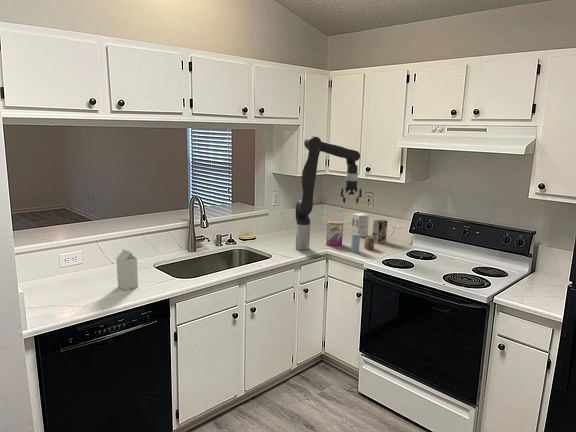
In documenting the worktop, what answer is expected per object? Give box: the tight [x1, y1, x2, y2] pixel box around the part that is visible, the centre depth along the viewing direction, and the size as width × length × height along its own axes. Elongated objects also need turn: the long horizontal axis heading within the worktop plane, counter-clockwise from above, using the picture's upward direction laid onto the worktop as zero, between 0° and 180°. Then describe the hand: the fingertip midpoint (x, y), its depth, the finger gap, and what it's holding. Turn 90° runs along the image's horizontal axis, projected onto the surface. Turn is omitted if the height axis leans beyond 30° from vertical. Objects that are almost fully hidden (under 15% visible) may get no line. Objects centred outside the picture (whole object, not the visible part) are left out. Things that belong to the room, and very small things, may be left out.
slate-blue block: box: [350, 233, 361, 254], centre depth 297 cm, size 4×4×12 cm
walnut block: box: [364, 236, 375, 251], centre depth 306 cm, size 5×5×8 cm
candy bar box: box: [325, 220, 344, 247], centre depth 313 cm, size 11×5×16 cm, turn 84°
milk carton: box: [116, 248, 139, 291], centre depth 221 cm, size 7×7×19 cm
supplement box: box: [350, 212, 370, 238], centre depth 343 cm, size 10×9×17 cm
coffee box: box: [371, 219, 388, 245], centre depth 324 cm, size 9×6×16 cm
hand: (350, 203), depth 309 cm, fingers open, 8 cm apart
